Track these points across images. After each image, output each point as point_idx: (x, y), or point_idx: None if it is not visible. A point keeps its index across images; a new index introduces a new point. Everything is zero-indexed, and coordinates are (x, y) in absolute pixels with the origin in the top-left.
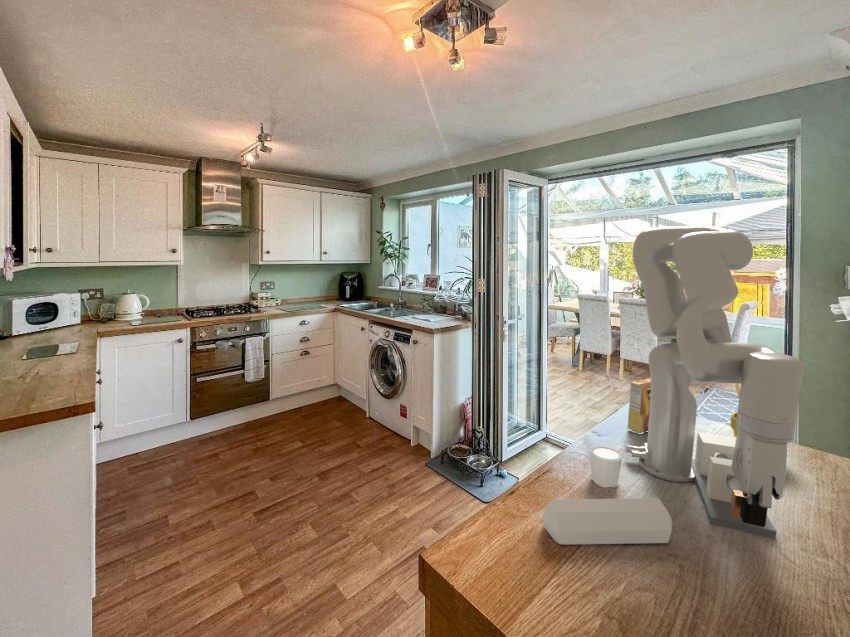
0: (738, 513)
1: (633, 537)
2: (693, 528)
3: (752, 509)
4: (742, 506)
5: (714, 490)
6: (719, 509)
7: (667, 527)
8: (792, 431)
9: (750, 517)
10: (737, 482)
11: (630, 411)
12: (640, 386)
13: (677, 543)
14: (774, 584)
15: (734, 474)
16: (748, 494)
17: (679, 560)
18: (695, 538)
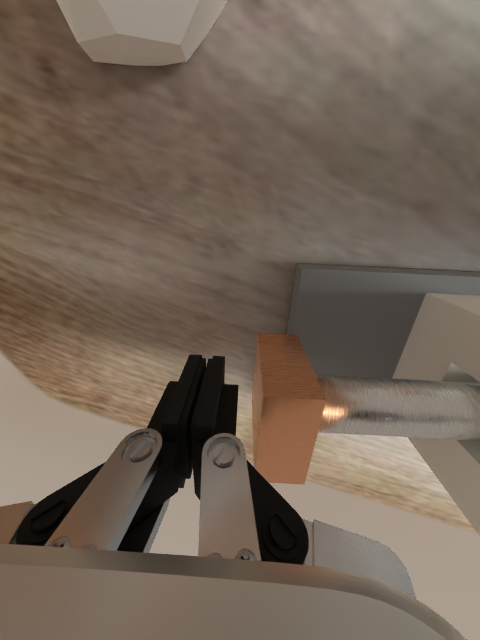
0: (257, 355)
1: None
2: (252, 201)
3: (149, 424)
4: (203, 391)
5: (449, 320)
6: (356, 307)
7: (63, 5)
8: None
9: (167, 389)
10: (440, 427)
11: None
12: None
13: (134, 117)
14: (101, 341)
15: (248, 587)
16: (111, 493)
17: (37, 105)
18: (196, 195)
